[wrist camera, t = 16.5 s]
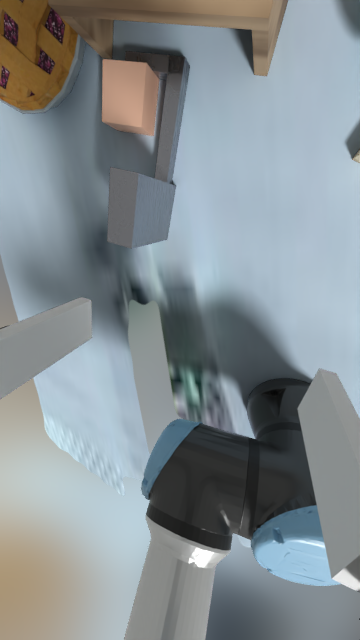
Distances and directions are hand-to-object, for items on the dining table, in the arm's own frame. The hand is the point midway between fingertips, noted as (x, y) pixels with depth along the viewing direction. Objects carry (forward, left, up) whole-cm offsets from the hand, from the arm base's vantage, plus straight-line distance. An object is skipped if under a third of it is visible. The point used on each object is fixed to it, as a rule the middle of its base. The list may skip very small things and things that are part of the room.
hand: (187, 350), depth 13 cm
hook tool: (+11, +17, -27) cm, 34 cm away
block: (+17, +20, -27) cm, 38 cm away
